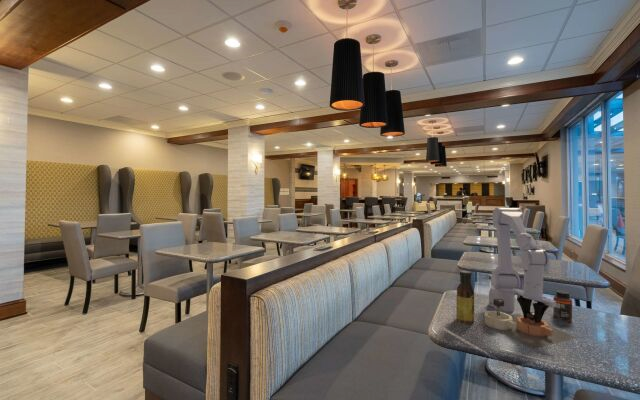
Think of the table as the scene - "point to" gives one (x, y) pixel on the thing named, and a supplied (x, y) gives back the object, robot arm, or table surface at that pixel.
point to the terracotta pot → (533, 327)
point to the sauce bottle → (465, 299)
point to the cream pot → (499, 320)
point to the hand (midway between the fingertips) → (532, 320)
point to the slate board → (533, 340)
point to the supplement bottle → (562, 306)
